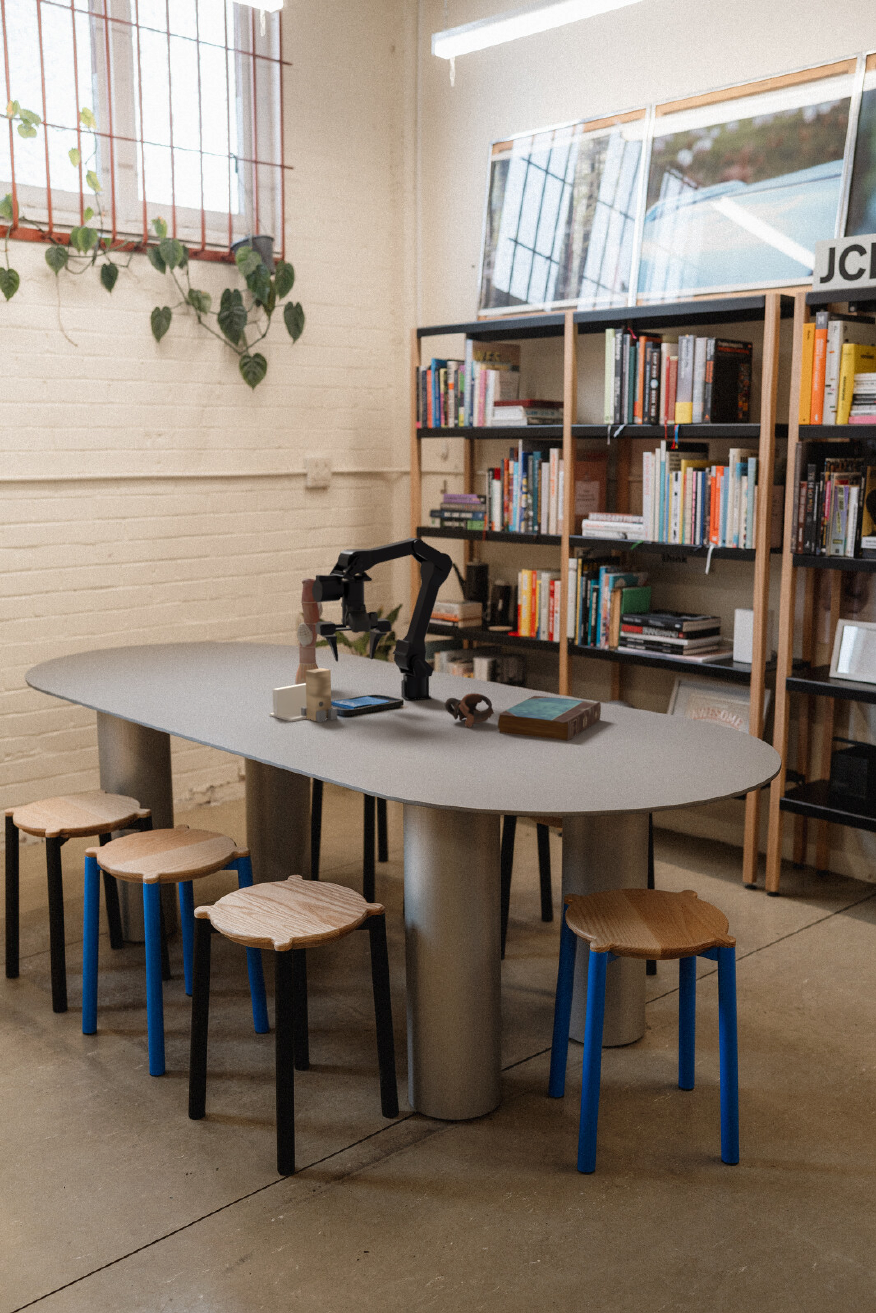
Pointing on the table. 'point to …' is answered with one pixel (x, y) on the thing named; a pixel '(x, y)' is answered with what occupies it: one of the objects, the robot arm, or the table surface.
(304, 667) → the reddish-brown tall column
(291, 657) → the table surface
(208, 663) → the table surface
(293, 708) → the cream board with pegs
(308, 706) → the wooden building block
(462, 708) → the brown looped piece
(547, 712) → the book
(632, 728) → the table surface
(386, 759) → the table surface
